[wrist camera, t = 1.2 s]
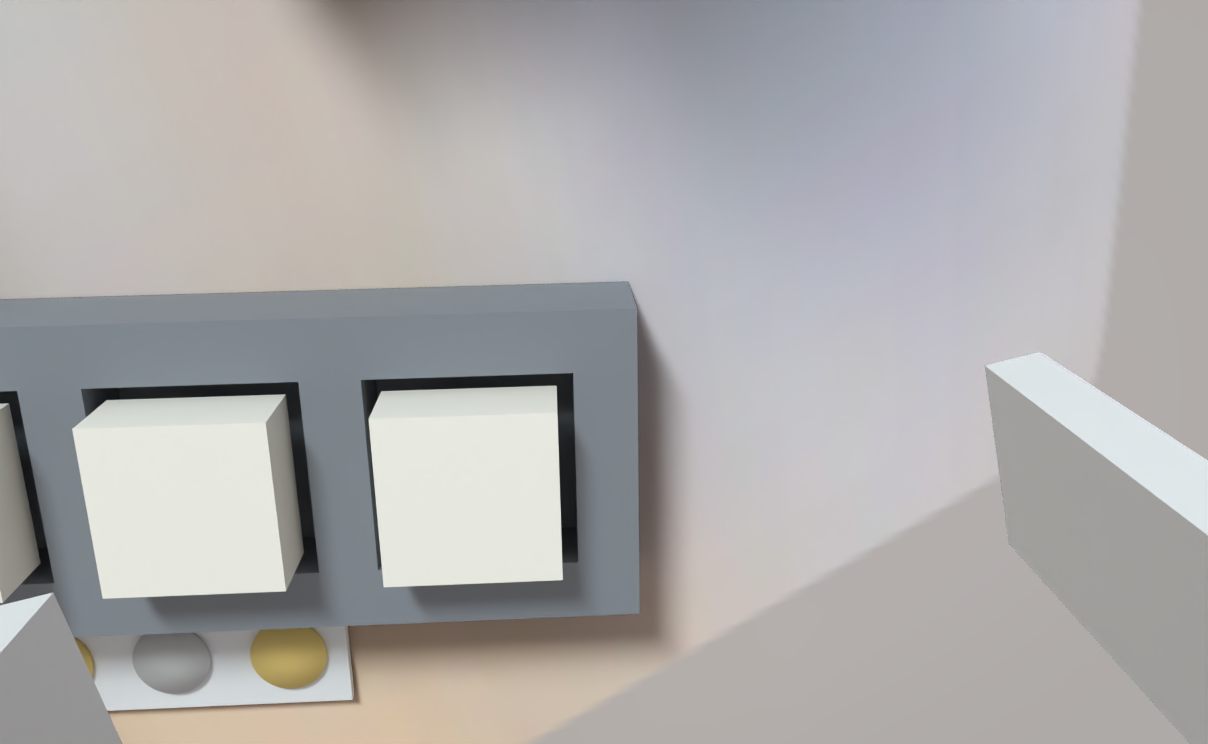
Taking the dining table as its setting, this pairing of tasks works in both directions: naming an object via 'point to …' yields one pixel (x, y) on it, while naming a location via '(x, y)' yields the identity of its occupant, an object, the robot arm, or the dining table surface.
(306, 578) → the board
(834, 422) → the dining table surface
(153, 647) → the card
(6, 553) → the button
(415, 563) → the button
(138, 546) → the button
